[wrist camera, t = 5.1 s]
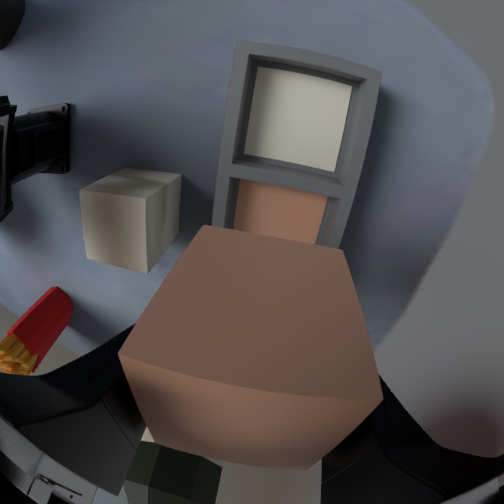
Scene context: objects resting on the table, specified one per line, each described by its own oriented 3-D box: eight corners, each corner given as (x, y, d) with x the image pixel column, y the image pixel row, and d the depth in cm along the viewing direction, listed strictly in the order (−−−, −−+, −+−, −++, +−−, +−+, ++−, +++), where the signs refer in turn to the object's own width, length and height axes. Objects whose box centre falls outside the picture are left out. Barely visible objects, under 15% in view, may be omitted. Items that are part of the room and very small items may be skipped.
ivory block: (126, 224, 22) (87, 258, 17) (125, 167, 19) (79, 189, 14) (178, 233, 22) (147, 273, 16) (182, 174, 19) (145, 198, 14)
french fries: (68, 330, 31) (22, 395, 20) (47, 312, 30) (-2, 373, 19) (76, 295, 27) (15, 372, 16) (52, 273, 26) (-14, 343, 15)
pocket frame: (216, 258, 22) (206, 278, 20) (244, 51, 14) (237, 40, 12) (317, 277, 22) (320, 299, 19) (367, 77, 14) (381, 71, 12)
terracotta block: (199, 325, 12) (154, 443, 7) (203, 224, 10) (117, 353, 4) (307, 345, 12) (306, 469, 7) (342, 249, 9) (383, 399, 4)
